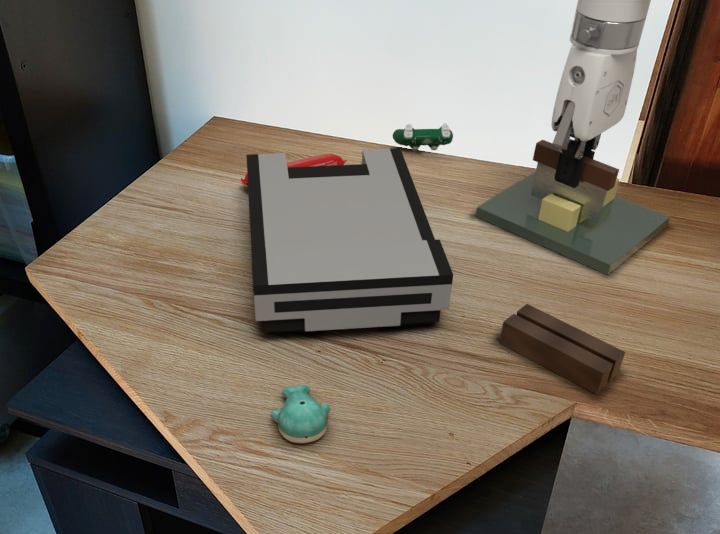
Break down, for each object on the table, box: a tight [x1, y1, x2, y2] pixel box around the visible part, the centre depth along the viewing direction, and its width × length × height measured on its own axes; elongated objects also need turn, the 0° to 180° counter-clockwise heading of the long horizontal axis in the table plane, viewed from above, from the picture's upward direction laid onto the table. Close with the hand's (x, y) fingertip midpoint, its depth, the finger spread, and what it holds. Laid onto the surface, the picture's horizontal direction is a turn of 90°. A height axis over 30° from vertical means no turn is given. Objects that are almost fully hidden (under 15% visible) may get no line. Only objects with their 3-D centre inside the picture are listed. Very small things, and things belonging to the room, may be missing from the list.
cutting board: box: [475, 170, 671, 276], centre depth 104 cm, size 20×16×2 cm
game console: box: [245, 147, 454, 335], centre depth 95 cm, size 21×32×8 cm, turn 6°
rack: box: [498, 303, 626, 395], centre depth 83 cm, size 12×5×3 cm, turn 46°
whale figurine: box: [270, 384, 331, 444], centre depth 75 cm, size 6×7×4 cm
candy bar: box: [240, 153, 348, 186], centre depth 112 cm, size 16×4×3 cm, turn 118°
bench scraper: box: [531, 139, 620, 223], centre depth 99 cm, size 11×2×7 cm, turn 46°
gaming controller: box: [392, 122, 454, 152], centre depth 120 cm, size 9×4×6 cm
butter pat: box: [538, 194, 581, 232], centre depth 101 cm, size 4×2×3 cm, turn 46°
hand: (570, 179), depth 99 cm, fingers closed on bench scraper, 1 cm apart
